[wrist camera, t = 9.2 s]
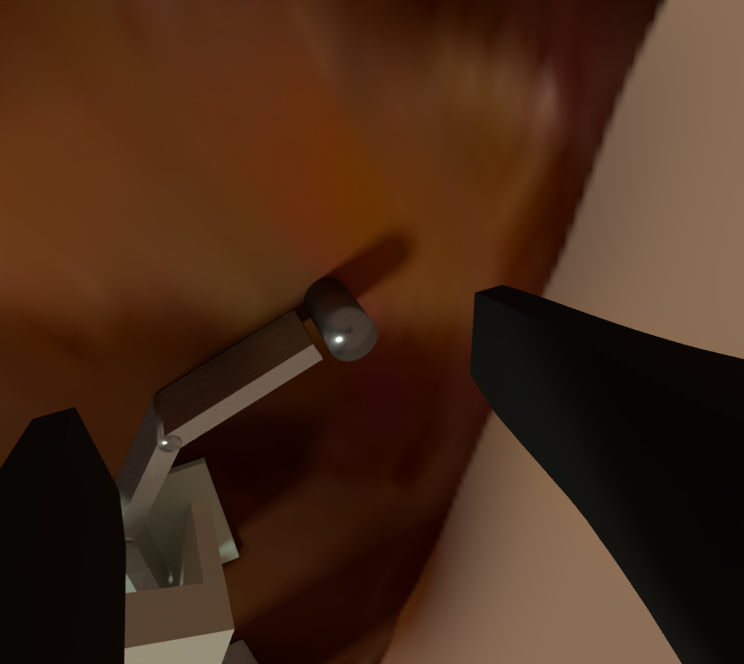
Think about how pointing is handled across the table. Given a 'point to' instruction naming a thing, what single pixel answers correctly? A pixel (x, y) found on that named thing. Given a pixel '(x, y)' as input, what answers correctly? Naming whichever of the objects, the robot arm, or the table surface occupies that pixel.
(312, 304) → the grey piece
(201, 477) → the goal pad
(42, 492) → the robot arm
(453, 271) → the table surface
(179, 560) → the u block
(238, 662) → the coffee box
